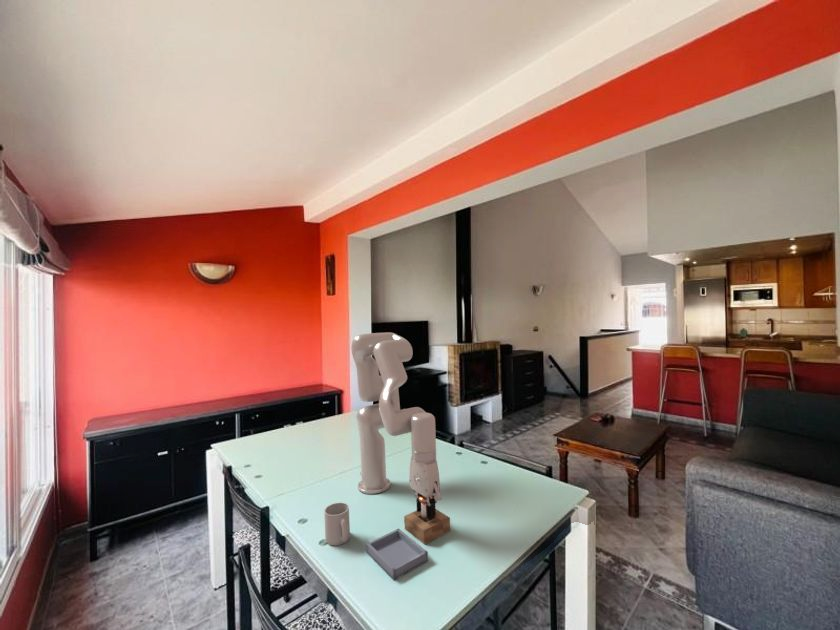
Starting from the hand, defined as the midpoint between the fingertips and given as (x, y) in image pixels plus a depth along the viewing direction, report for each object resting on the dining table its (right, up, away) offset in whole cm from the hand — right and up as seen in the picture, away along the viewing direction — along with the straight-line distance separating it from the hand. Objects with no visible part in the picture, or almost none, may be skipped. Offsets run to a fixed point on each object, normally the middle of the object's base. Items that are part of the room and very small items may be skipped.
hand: (426, 512), depth 110 cm
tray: (-8, -5, -12) cm, 15 cm away
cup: (-26, -6, -4) cm, 27 cm away
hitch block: (0, -5, 0) cm, 5 cm away
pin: (0, -5, 0) cm, 5 cm away
